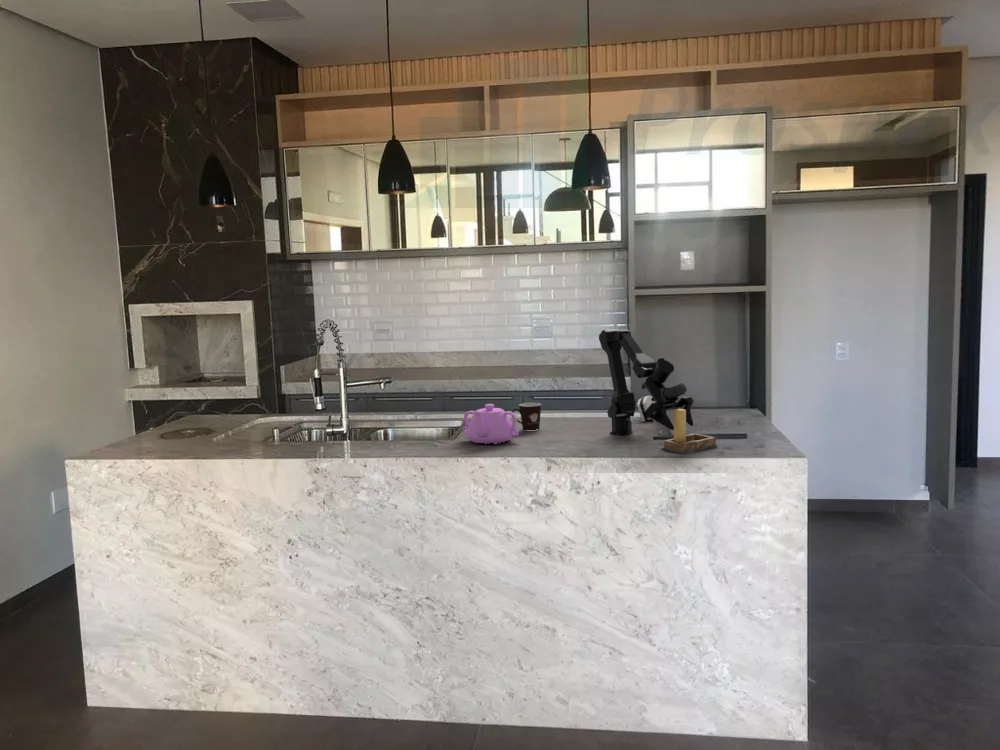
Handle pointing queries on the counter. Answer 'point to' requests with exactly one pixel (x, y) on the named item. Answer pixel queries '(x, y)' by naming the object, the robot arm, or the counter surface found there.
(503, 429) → the teapot
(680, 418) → the peg
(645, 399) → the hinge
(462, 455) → the counter surface
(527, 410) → the coffee mug
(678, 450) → the frame
